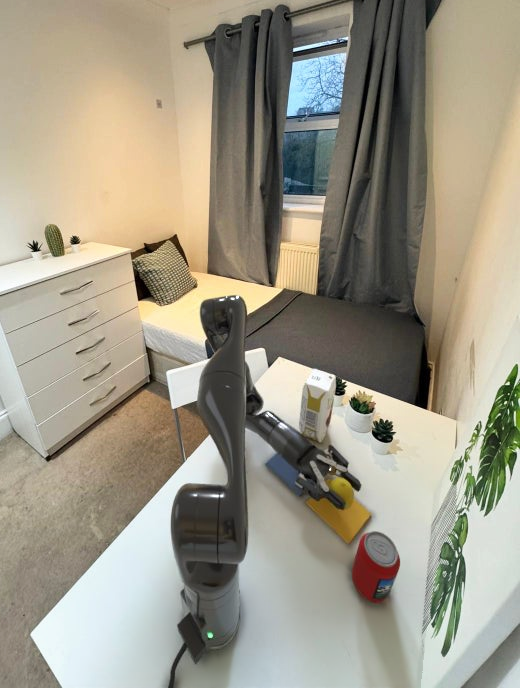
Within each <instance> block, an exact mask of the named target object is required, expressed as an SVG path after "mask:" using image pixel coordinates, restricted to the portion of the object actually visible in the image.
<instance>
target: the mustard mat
mask: <svg viewBox="0 0 520 688" xmlns="http://www.w3.org/2000/svg"><path fill="white" fill-rule="evenodd" d="M332 480H333V479H331V478H330V477H328V478H327V479H326V480H325V483H326V485H327V486H329V484H330V482H331V481H332ZM305 504H306V505H307V506H308V507H309V508H310V509H311V510H313V511H314V512H315V513H316V515H318V516H319V517H320V518H321V519H322V521H324V522H325V523H326V524H327V525H328V526H329V527H330V528H331V529H332V530H333V531H334V532H335V533H336V534H338V536H339V537H340V538H342V539H343V540H344V541H345V543H347V544H348V545H350V544H351V542H352V541H353V540H354V538H355V537H356V536H357V534H358V533H359V532H360V530H361V529H362V528H363V526H364V525H365V523H367V521H368V520H369V518H370V517H371V516H372V513H371V512H370V511H369V510H368V509H367V508H366V507H364V506H363V505H362V504H360V502H358V501H357V499H355V498H354V500H353V503H352V505H351V507H349V508H348V509H346V510H339V509H336V508H335V507H334V506H333V505H332V504H331V503H330V502H329V501H328V500H327V499H326V498H322V499H320V501H316V500H314V499H313V498H311V497H310V496H309V498H308V499H307V501H305Z"/></svg>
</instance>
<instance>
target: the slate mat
mask: <svg viewBox="0 0 520 688" xmlns="http://www.w3.org/2000/svg"><path fill="white" fill-rule="evenodd" d="M265 465H266V467H268V468H269V469H270V470H271V471H272V472H273V473H274V474H275V475H276V476H277V477H278V478H280V480H281V481H282V482H283V483H284V484H285V485H287V487H289V489H291V491H293V492H294V493H295V494H296V495H297V497H300V496H301V495H302V494H303V493H304V492H303V491H301V490H300V489H298V488H297V487H296V486H295V479H296V476H299V472H298V471H297V470H295V469H294V468H293V467H292V466H291V465H290V464H288V463H287V462H286V461H285V460H284V459H283V458H282V457H281V456H280V455H278V454H277V453H275V454H274V455H272V457H271V458H270V459H268V460H267V461H266V462H265ZM305 479H306V478H305ZM306 480H307V482H309V483H310V484H312V485H313V484H314V483H313V481H312V480H311V479H306Z"/></svg>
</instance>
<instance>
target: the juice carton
mask: <svg viewBox="0 0 520 688" xmlns="http://www.w3.org/2000/svg"><path fill="white" fill-rule="evenodd" d="M336 379H337V377H336V375H335V374H332V373H329V372H326V371H323V370H319V369H318V368H312V369H311V371H310V373H309V375H308V377H307V379H306V381H305V383H304V384H303V387H302V392H301V401H300V412H299V419H298V420H299V422H298V427H299V432H300V433H301V434H302V435H304V436H305V437H306V438H309V439H311V440H314V441H316V442H318V443H322V442H323V440H324V439H325V436H326V434H327V432H328V428H329V426H330V424H331V420H332V415H333V409H334V402H335V395H336V388H337V381H336Z"/></svg>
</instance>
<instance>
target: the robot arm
mask: <svg viewBox="0 0 520 688" xmlns="http://www.w3.org/2000/svg"><path fill="white" fill-rule="evenodd" d="M199 319H200V324H201V327H202V330H203V333H204V335H205V337H206V339H207V341H208V344H209V345H210V348H211V350H212V352H213V353H214V354H212V356H211V357H210V359H209V360H208V361H207V362H206V364H205V366H204V367H203V368H202V371H201V372H200V376H199V382H198V390H197V398H196V409H197V412H198V415H199V417H200V419H201V421H202V423H203V426H204V427H205V429H206V431H207V432H208V434H209V436H210V438H211V439H212V441H213V443H214V445H215V447H216V449H217V451H218V454H219V456H220V459H221V461H222V465H223V468H224V472H225V476H226V484H219V483H216V484H215V483H197V482H196V483H193V482H188V483H185V484H182V485H181V486H180V487H179V489H178V490H177V492H176V494H175V497H174V498H173V503H172V506H171V513H170V539H171V547H172V552H173V557H174V559H175V563H176V566H177V570H178V574H179V578H180V580H181V583H182V586H183V588H182V589H181V590H180V592H179V595H180V600H181V601H180V602H181V607H182V614H183V618H182V619H181V620H180V621H179V622H178V623H177V624H176V625H177V627H176V628H177V632H178V634H179V636H180V638H181V640H182V642H183V644H182V646H181V647H180V649H179V650H178V653H177V654H176V655H175V658H174V660H173V662H172V665H171V668H170V673H169V678H170V679H169V682H168V685H167V688H174V685H175V681H176V670H177V667H178V666H179V663H180V661H181V659H182V657H183V656H184V654H185V652H186V651H188V653H189V656H190V658H191V659H192V661H193V663H194V665H197V664H198V663H199V662H200V660H201V659H202V658H203V657H204V656H205V655H206V654H207V653H208V652H209V651H217V650H221V649H223V648H225V647H226V646H228V645H229V644H230V643H231V642H232V641H233V640H234V637H235V636H236V635H237V632H238V629H239V626H240V621H241V606H240V592H241V590H240V564H241V563H243V562H244V560H245V558H246V555H247V552H248V546H249V528H250V527H249V502H248V501H249V499H248V484H247V481H248V480H247V466H246V465H247V463H246V430H249V431H250V432H252V433H254V434H256V435H258V437H260V438H261V439H262V440H264V442H266V443H267V444H268V445H269V446H270V447H271V449H272V450H273V451H274V452H275V454H278V455H280V456H281V457H282V458H283V459H284V460H285V461H286V462H287V463H288V464H290V465H291V466H292V467H293V468H294V469H295V470H297V471H298V472H299V476H296V479H295V486H296V487H297V488H298V489H300V490H301V491H303V493H304V494H305V495H307V496H309V498H310V497H311V498H313V499H314V500H316V501H320V499H322V498H326V499H327V500H328V501H329V502H331V503H332V504H333V505H334V506H335V507H336V508H338V509H341V510H344V508H345V506H346V502H345V501H344V500H343V499H342V498H340V497H339V496H338V495H337V494H336V493H335V492H334V491H332V490H329V488H328V486H327V485H326V483H325V482H326V480H325V477H326V476H328V475H331V476H332V477H334V476H336V477H337V478H343V479H345V480H347V481H348V482H349V483H350V484H351V486H352V488H353V490H354V491H356V492H358V493H359V492H360V491H361V489H362V483H361V481H360V480H359V478H357V477H355V476H354V475H353V474H352V473H351V472H349V470H348V469H349V468H348V467H349V464H350V462H349V461H348V460H347V459H346V457H344V456H343V455H342V454H341V453H340V451H339V450H338V449H337V448H336V447H334V445H332V444H329V445H328V446H327V448H326V449H324V450H322V449H320V448H318V447H317V446H316V444H314V442H313V441H311V440H310V438H309V439H308V437H306V436H304V435H302V434H301V433H300V431H299V430H297V429H296V428H295V427H294V426H292V425H291V424H288V423H287V422H286V421H285V420H283V419H282V418H281V417H280V416H278V415H277V414H276V413H275V412H273V411H271V410H265V411H263V412H261V411H262V410H263V409H264V405H265V403H264V399H263V396H262V395H261V393H260V392H259V390H258V389H257V387H256V386H255V383H254V382H253V377H252V374H251V370H250V366H249V364H248V363H247V361H246V344H247V330H248V308H247V304H246V301H245V299H244V298H243V297H242V296H241V295H239V294H232V295H224V296H217V297H211V298H206V299H203V300H202V301H201V302H200V306H199ZM225 335H226V337H225V338H224V337H223V336H225ZM305 478H306V479H311V480H312V481H313V483H312V484H310V483H309V482H307V480H306V479H305ZM313 484H314V485H313Z"/></svg>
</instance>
